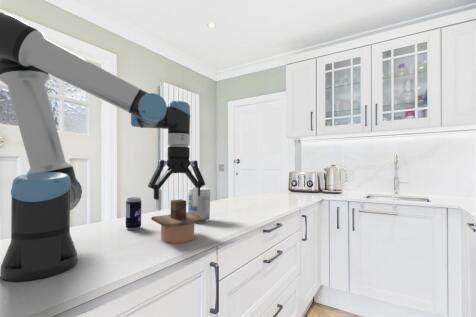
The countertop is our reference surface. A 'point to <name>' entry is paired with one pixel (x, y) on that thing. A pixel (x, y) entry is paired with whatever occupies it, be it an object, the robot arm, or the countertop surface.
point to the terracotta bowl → (177, 233)
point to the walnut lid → (178, 216)
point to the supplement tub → (200, 204)
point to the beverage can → (133, 213)
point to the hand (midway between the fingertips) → (177, 207)
